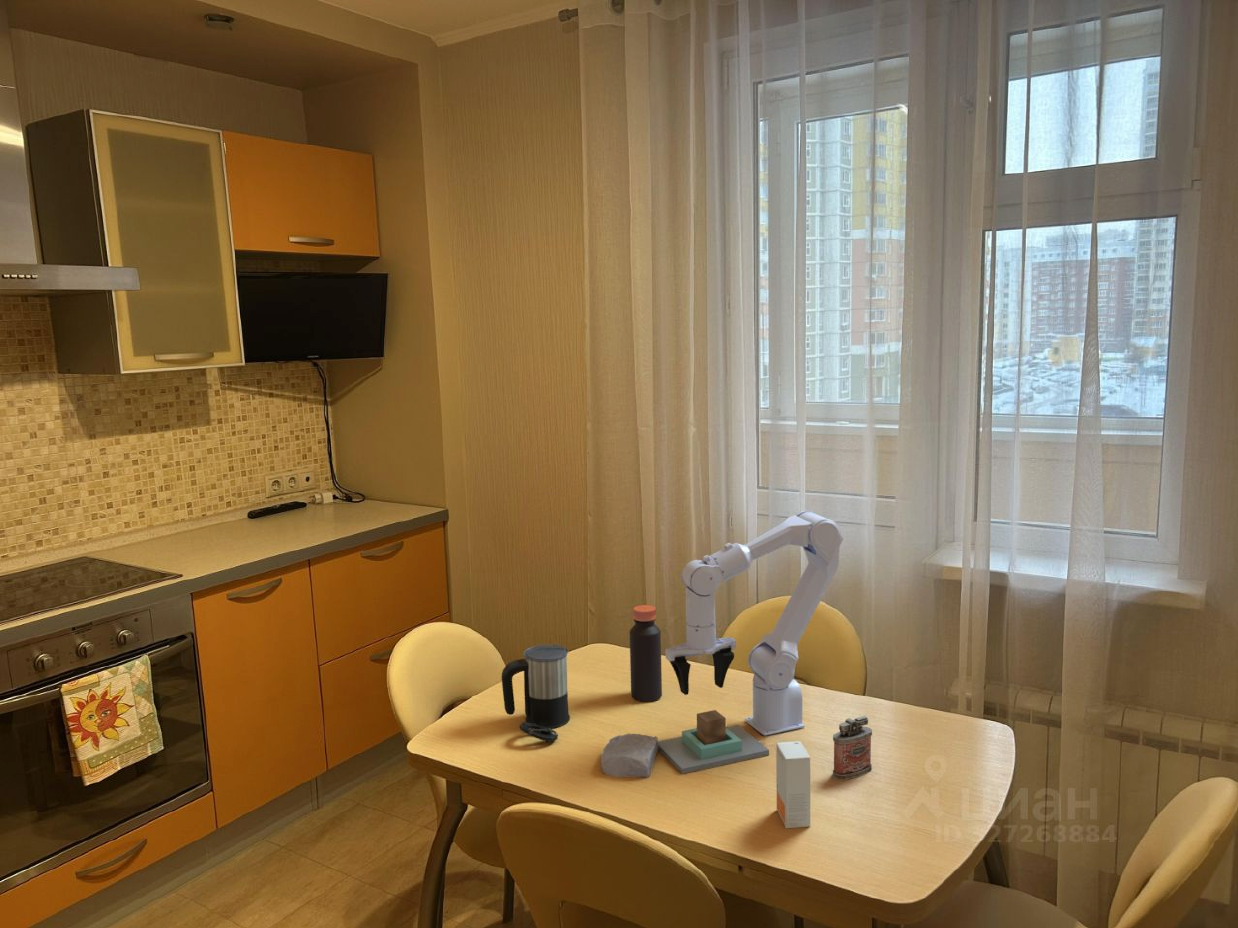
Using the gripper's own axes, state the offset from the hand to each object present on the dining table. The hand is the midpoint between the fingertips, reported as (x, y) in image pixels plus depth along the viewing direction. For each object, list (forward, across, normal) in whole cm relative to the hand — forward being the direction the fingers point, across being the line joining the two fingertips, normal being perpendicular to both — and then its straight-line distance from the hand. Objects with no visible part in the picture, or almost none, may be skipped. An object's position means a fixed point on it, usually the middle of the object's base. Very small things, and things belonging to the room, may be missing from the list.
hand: (701, 689), depth 179 cm
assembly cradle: (+9, -2, -7) cm, 12 cm away
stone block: (+10, -18, -4) cm, 21 cm away
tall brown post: (+8, -2, -7) cm, 11 cm away
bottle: (+10, -2, +22) cm, 24 cm away
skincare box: (+10, -1, -34) cm, 35 cm away
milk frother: (+10, -27, +16) cm, 33 cm away
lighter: (+10, +17, -25) cm, 32 cm away
